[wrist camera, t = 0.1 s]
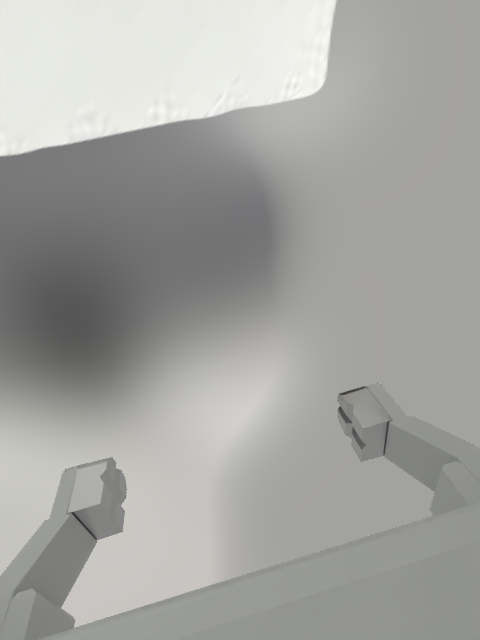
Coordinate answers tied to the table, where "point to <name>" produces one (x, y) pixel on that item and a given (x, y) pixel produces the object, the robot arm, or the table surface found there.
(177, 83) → the table surface
